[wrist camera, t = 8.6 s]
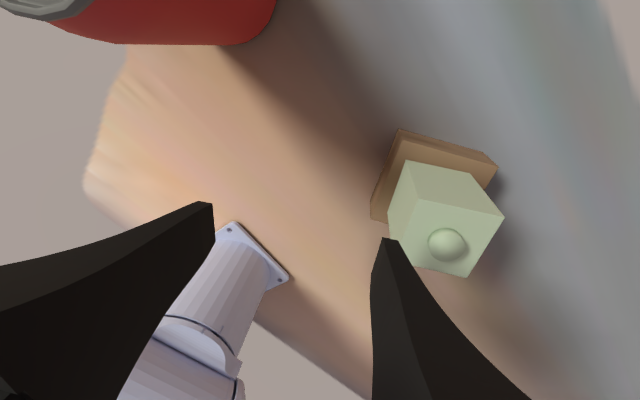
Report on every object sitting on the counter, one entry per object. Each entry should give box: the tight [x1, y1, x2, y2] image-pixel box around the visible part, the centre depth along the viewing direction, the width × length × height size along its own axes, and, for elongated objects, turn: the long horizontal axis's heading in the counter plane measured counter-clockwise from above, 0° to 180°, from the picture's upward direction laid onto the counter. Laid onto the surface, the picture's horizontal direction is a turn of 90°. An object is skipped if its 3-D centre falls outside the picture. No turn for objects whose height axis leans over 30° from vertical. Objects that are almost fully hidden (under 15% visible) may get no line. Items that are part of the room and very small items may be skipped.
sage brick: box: [387, 160, 505, 278], centre depth 16 cm, size 4×4×6 cm
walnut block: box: [370, 129, 499, 224], centre depth 19 cm, size 6×6×3 cm
